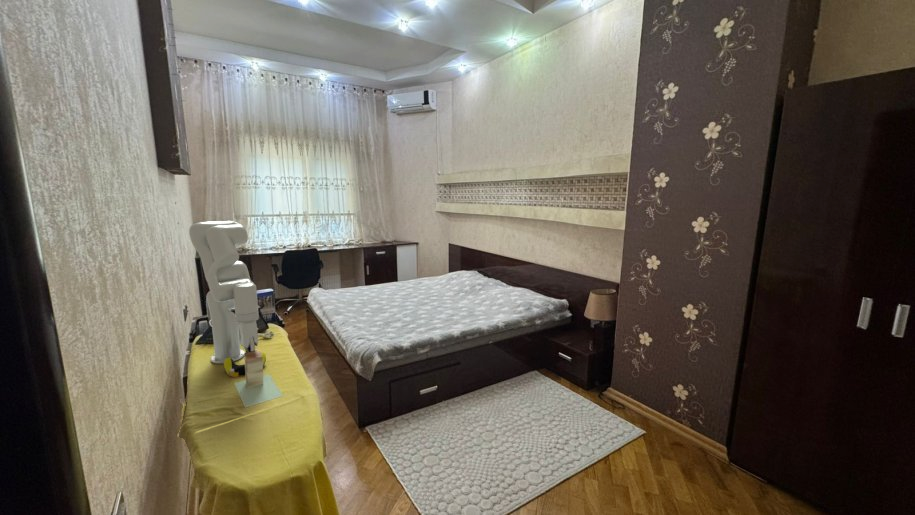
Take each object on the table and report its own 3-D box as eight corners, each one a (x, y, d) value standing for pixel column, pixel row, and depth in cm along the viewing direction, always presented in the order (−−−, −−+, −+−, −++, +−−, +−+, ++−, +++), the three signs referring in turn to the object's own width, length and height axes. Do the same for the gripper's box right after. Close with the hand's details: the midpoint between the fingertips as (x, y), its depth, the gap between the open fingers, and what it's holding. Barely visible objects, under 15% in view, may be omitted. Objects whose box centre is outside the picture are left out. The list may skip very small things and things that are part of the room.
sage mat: (234, 384, 139) (234, 383, 139) (268, 375, 147) (268, 373, 147) (245, 409, 124) (245, 407, 124) (283, 397, 132) (283, 395, 132)
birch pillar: (245, 380, 140) (244, 353, 136) (260, 376, 143) (259, 349, 139) (248, 388, 136) (247, 360, 133) (263, 383, 139) (262, 356, 136)
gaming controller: (225, 369, 151) (222, 380, 142) (224, 357, 150) (221, 367, 141) (266, 362, 158) (266, 373, 149) (265, 350, 157) (265, 360, 148)
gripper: (232, 312, 141) (236, 357, 144) (239, 323, 130) (244, 372, 133) (254, 309, 146) (257, 352, 149) (263, 319, 135) (267, 366, 138)
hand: (251, 361), depth 141 cm, fingers closed
